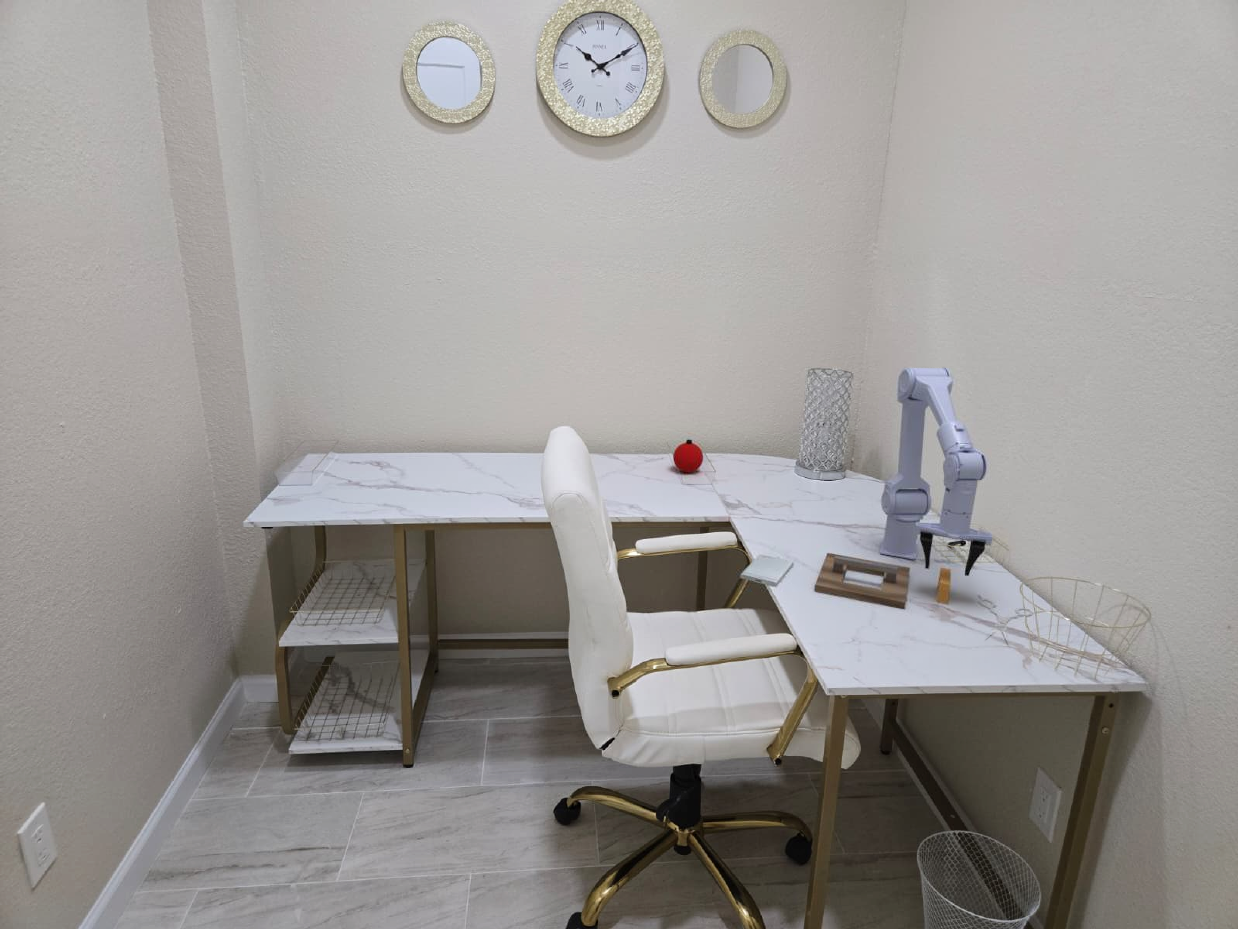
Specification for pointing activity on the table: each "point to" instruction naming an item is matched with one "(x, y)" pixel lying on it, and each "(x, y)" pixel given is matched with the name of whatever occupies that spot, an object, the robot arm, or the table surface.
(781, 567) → the hard drive
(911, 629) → the table surface
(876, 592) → the brown wooden frame
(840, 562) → the hook bar
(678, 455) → the ornament
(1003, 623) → the scissors
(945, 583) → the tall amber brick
